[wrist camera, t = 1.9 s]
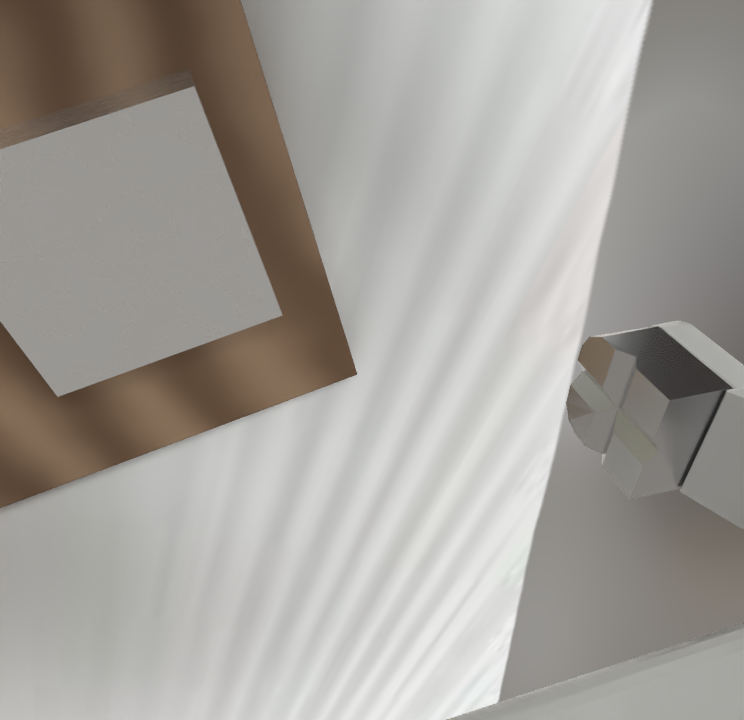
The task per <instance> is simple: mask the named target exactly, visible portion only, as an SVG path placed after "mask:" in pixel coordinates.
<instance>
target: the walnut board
mask: <svg viewBox="0 0 744 720" xmlns="http://www.w3.org/2000/svg"><path fill="white" fill-rule="evenodd" d="M188 69H189V71H190V74H191V76H192V79H193V82H194V84H195V87H196V89H197V92H198V95H199V97H200V100H201V102H202V105H203V108H204V110H205V113H206V115H207V118H208V121H209V123H210V126H211V128H212V131H213V134H214V136H215V139H216V141H217V144H218V147H219V149H220V152H221V154H222V157H223V160H224V162H225V165H226V167H227V170H228V173H229V175H230V178H231V180H232V183H233V186H234V188H235V191H236V193H237V196H238V199H239V201H240V204H241V206H242V209H243V212H244V214H245V217H246V219H247V222H248V225H249V227H250V230H251V232H252V235H253V238H254V240H255V243H256V245H257V248H258V251H259V253H260V256H261V258H262V261H263V264H264V266H265V269H266V271H267V274H268V277H269V279H270V282H271V284H272V287H273V290H274V292H275V295H276V298H277V301H278V304H279V307H280V309H281V312H282V315H283V316H280V317H277V318H274V319H271V320H269V321H266V322H263V323H260V324H258V325H255V326H252V327H249V328H247V329H244V330H241V331H238V332H236V333H233V334H230V335H227V336H224V337H222V338H219V339H216V340H213V341H211V342H208V343H205V344H202V345H200V346H197V347H194V348H191V349H189V350H186V351H183V352H180V353H178V354H175V355H172V356H169V357H166V358H164V359H161V360H158V361H155V362H153V363H150V364H147V365H144V366H142V367H139V368H136V369H133V370H131V371H128V372H125V373H122V374H120V375H117V376H114V377H111V378H108V379H106V380H103V381H100V382H97V383H95V384H92V385H89V386H86V387H84V388H81V389H78V390H75V391H73V392H70V393H67V394H64V395H62V396H59V397H57V395H56V394H55V393H54V391H53V390H52V389H51V388H50V386H49V385H48V384H47V382H46V381H45V380H44V378H43V377H42V376H41V374H40V373H39V372H38V370H37V369H36V368H35V366H34V365H33V364H32V362H31V361H30V360H29V359H28V357H27V356H26V355H25V353H24V352H23V351H22V349H21V348H20V347H19V345H18V344H17V343H16V341H15V340H14V339H13V337H12V336H11V335H10V333H9V332H8V331H7V329H6V328H5V327H4V326H3V324H2V323H1V322H0V508H2V507H4V506H7V505H10V504H12V503H15V502H18V501H20V500H23V499H26V498H28V497H31V496H34V495H36V494H39V493H42V492H44V491H47V490H50V489H52V488H55V487H58V486H61V485H63V484H66V483H69V482H71V481H74V480H77V479H79V478H82V477H85V476H87V475H90V474H93V473H95V472H98V471H101V470H103V469H106V468H109V467H111V466H114V465H117V464H119V463H122V462H125V461H127V460H130V459H133V458H135V457H138V456H141V455H143V454H146V453H149V452H151V451H154V450H157V449H159V448H162V447H165V446H167V445H170V444H173V443H175V442H178V441H181V440H183V439H186V438H189V437H191V436H194V435H197V434H199V433H202V432H205V431H208V430H210V429H213V428H216V427H218V426H221V425H224V424H226V423H229V422H232V421H234V420H237V419H240V418H242V417H245V416H248V415H250V414H253V413H256V412H258V411H261V410H264V409H266V408H269V407H272V406H274V405H277V404H280V403H282V402H285V401H288V400H290V399H293V398H296V397H298V396H301V395H304V394H306V393H309V392H312V391H314V390H317V389H320V388H322V387H325V386H328V385H330V384H333V383H336V382H338V381H341V380H344V379H346V378H349V377H352V376H355V375H357V372H356V369H355V365H354V362H353V359H352V356H351V353H350V349H349V346H348V343H347V340H346V337H345V333H344V330H343V327H342V324H341V321H340V317H339V314H338V311H337V308H336V305H335V301H334V298H333V295H332V292H331V289H330V286H329V282H328V279H327V276H326V273H325V270H324V266H323V263H322V260H321V257H320V254H319V250H318V247H317V244H316V241H315V238H314V234H313V231H312V228H311V225H310V222H309V218H308V215H307V212H306V209H305V206H304V202H303V199H302V196H301V193H300V190H299V186H298V183H297V180H296V177H295V174H294V170H293V167H292V164H291V161H290V158H289V154H288V151H287V148H286V145H285V142H284V138H283V135H282V132H281V129H280V126H279V122H278V119H277V116H276V113H275V110H274V107H273V103H272V100H271V97H270V94H269V91H268V87H267V84H266V81H265V78H264V75H263V71H262V68H261V65H260V62H259V59H258V55H257V52H256V49H255V46H254V43H253V39H252V36H251V33H250V30H249V27H248V23H247V20H246V17H245V14H244V11H243V7H242V4H241V1H240V0H0V130H2V129H5V128H8V127H11V126H14V125H17V124H20V123H24V122H27V121H30V120H33V119H36V118H39V117H42V116H45V115H48V114H51V113H54V112H58V111H61V110H64V109H67V108H70V107H73V106H76V105H79V104H82V103H85V102H89V101H92V100H95V99H98V98H101V97H104V96H107V95H110V94H113V93H116V92H119V91H123V90H126V89H129V88H132V87H135V86H138V85H141V84H144V83H147V82H150V81H153V80H157V79H160V78H163V77H166V76H169V75H172V74H175V73H178V72H181V71H184V70H188Z"/></svg>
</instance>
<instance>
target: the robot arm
mask: <svg viewBox="0 0 744 720" xmlns="http://www.w3.org/2000/svg"><path fill="white" fill-rule="evenodd" d="M578 362H579V364H580V366H581V368H582V370H583V372H582V373H581V374H580V375H579V376H578V377H577V378H576V379H575V380H574V382H573V383H572V384H571V385H570V389H569V394H568V398H567V402H566V404H567V411H568V418H569V422H570V424H571V426H572V428H573V430H574V433H575V434H576V435H577V437H578V438H579V439H580V440H581V441H582V443H583V444H584V445H585V446H587V447H589V448H591V449H593V450H595V451H597V452H600V453H601V454H602V467H603V468H604V470H605V471H606V472H607V473H608V474H609V476H610V477H611V478H612V479H613V480H614V482H615V483H616V484H617V485H618V486H619V487H620V489H621V490H622V491H623V492H624V493H625V495H626V496H627V497H628V498H629V499H634V498H639V497H643V496H648V495H652V494H657V493H662V492H667V491H672V490H676V489H681V490H680V492H681V493H683V494H685V495H687V496H688V497H690V498H691V499H693V500H695V501H697V502H698V503H700V504H702V505H703V506H705V507H707V508H708V509H710V510H712V511H713V512H715V513H717V514H719V515H720V516H722V517H723V518H725V519H727V520H728V521H730V522H732V523H733V524H735V525H737V526H738V527H740V528H742V529H744V365H743V364H741V363H740V362H739V361H737V360H736V359H735V358H734V357H732V356H731V355H729V354H728V353H727V352H726V351H725V350H723V349H722V348H721V347H719V346H718V345H717V344H716V343H714V342H713V341H712V340H710V339H709V338H708V337H707V336H705V335H704V334H703V333H701V332H700V331H699V330H698V329H696V328H695V327H694V326H692V325H691V324H689V323H686V322H682V321H679V320H678V321H673V322H667V323H662V324H657V325H652V326H649V327H647V328H639V329H633V330H627V331H621V332H616V333H610V334H604V335H598V336H592V337H589V338H588V339H587V340H586V342H585V343H584V344H583V345H582V348H581V351H580V354H579V357H578ZM447 720H744V623H742V624H739V625H735V626H733V627H729V628H726V629H723V630H720V631H717V632H714V633H711V634H708V635H705V636H702V637H699V638H696V639H693V640H689V641H687V642H683V643H680V644H677V645H674V646H671V647H668V648H665V649H662V650H659V651H656V652H652V653H650V654H646V655H643V656H640V657H637V658H634V659H631V660H628V661H625V662H622V663H619V664H616V665H613V666H609V667H607V668H603V669H600V670H597V671H594V672H591V673H588V674H585V675H582V676H579V677H576V678H573V679H570V680H566V681H563V682H560V683H557V684H554V685H551V686H548V687H545V688H542V689H539V690H536V691H533V692H530V693H527V694H523V695H520V696H517V697H514V698H511V699H508V700H505V701H502V702H499V703H496V704H493V705H490V706H487V707H484V708H481V709H478V710H475V711H471V712H468V713H465V714H462V715H459V716H456V717H453V718H450V719H447Z"/></svg>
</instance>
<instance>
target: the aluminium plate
mask: <svg viewBox="0 0 744 720" xmlns="http://www.w3.org/2000/svg"><path fill="white" fill-rule="evenodd" d="M280 316H283V315H282V312H281V309H280V307H279V304H278V301H277V298H276V295H275V292H274V290H273V287H272V284H271V282H270V279H269V277H268V274H267V271H266V269H265V266H264V264H263V261H262V258H261V256H260V253H259V251H258V248H257V245H256V243H255V240H254V238H253V235H252V232H251V230H250V227H249V225H248V222H247V219H246V217H245V214H244V212H243V209H242V206H241V204H240V201H239V199H238V196H237V193H236V191H235V188H234V186H233V183H232V180H231V178H230V175H229V173H228V170H227V167H226V165H225V162H224V160H223V157H222V154H221V152H220V149H219V147H218V144H217V141H216V139H215V136H214V134H213V131H212V128H211V126H210V123H209V121H208V118H207V115H206V113H205V110H204V108H203V105H202V102H201V100H200V97H199V95H198V92H197V89H196V87H195V84H194V82H193V79H192V76H191V74H190V71H189V69H188V70H184V71H181V72H178V73H175V74H172V75H169V76H166V77H163V78H160V79H157V80H153V81H150V82H147V83H144V84H141V85H138V86H135V87H132V88H129V89H126V90H123V91H119V92H116V93H113V94H110V95H107V96H104V97H101V98H98V99H95V100H92V101H89V102H85V103H82V104H79V105H76V106H73V107H70V108H67V109H64V110H61V111H58V112H54V113H51V114H48V115H45V116H42V117H39V118H36V119H33V120H30V121H27V122H24V123H20V124H17V125H14V126H11V127H8V128H5V129H2V130H0V322H1V323H2V324H3V326H4V327H5V328H6V329H7V331H8V332H9V333H10V335H11V336H12V337H13V339H14V340H15V341H16V343H17V344H18V345H19V347H20V348H21V349H22V351H23V352H24V353H25V355H26V356H27V357H28V359H29V360H30V361H31V362H32V364H33V365H34V366H35V368H36V369H37V370H38V372H39V373H40V374H41V376H42V377H43V378H44V380H45V381H46V382H47V384H48V385H49V386H50V388H51V389H52V390H53V391H54V393H55V394H56V395H57V397H59V396H62V395H64V394H67V393H70V392H73V391H75V390H78V389H81V388H84V387H86V386H89V385H92V384H95V383H97V382H100V381H103V380H106V379H108V378H111V377H114V376H117V375H120V374H122V373H125V372H128V371H131V370H133V369H136V368H139V367H142V366H144V365H147V364H150V363H153V362H155V361H158V360H161V359H164V358H166V357H169V356H172V355H175V354H178V353H180V352H183V351H186V350H189V349H191V348H194V347H197V346H200V345H202V344H205V343H208V342H211V341H213V340H216V339H219V338H222V337H224V336H227V335H230V334H233V333H236V332H238V331H241V330H244V329H247V328H249V327H252V326H255V325H258V324H260V323H263V322H266V321H269V320H271V319H274V318H277V317H280Z"/></svg>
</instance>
